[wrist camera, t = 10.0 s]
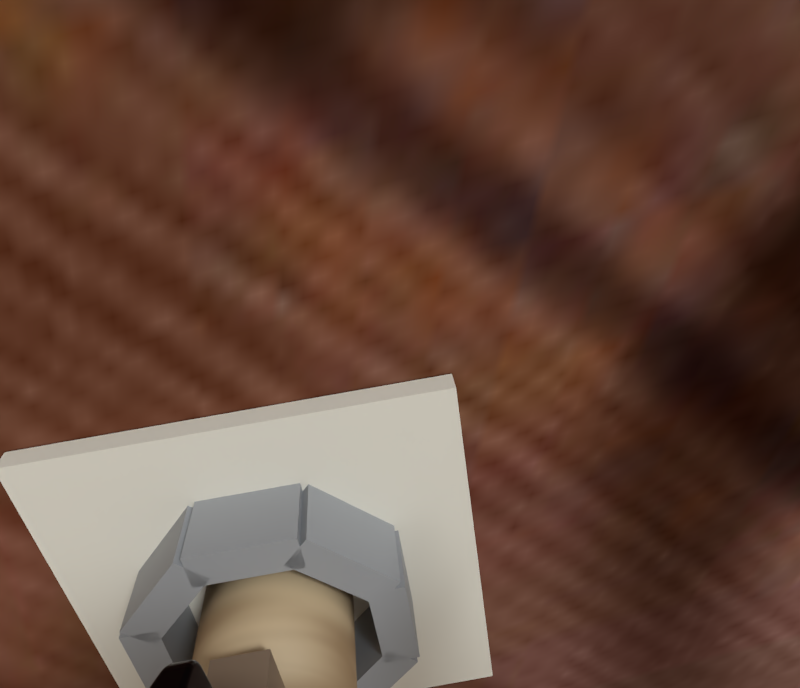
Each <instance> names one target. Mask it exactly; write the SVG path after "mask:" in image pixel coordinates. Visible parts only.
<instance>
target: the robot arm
mask: <svg viewBox="0 0 800 688" xmlns="http://www.w3.org/2000/svg"><path fill="white" fill-rule="evenodd" d="M150 688H213V687H212V685H211V683H210V682H209V680H208V678H207V676H206V674H205V672H204V670H203V668H202V667H201V665H200V664H199V662H197V661H196V660H187V661H182V662H176V663H171V664H169V665H167V666H166V667H164V668H163V669H162V671H161V672H160V673H159V675H158V676H157V677H156V679H155V680H154V682H153V683H152V685H151V686H150Z"/></svg>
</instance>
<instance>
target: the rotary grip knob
mask: <svg viewBox="0 0 800 688" xmlns="http://www.w3.org/2000/svg"><path fill="white" fill-rule="evenodd" d="M192 660H196V661H197V662H199V664H200V665H201V667H202V668H203V670H204V672H205V674H206V676H207V678H208V680H209V682H210V683H211V685H212V687H213V688H357V672H356V648H355V625H354V601H353V595H352V594H350V593H347V592H345V591H343V590H340V589H338V588H336V587H333V586H331V585H329V584H326V583H324V582H322V581H319V580H317V579H315V578H312V577H310V576H308V575H305V574H303V573H301V572H298V571H296V570H290V571H284V572H278V573H273V574H267V575H262V576H256V577H250V578H245V579H239V580H234V581H228V582H222V583H217V584H211V585H207V586H206V591H205V596H204V601H203V607H202V612H201V617H200V622H199V627H198V632H197V637H196V642H195V647H194V652H193V657H192Z"/></svg>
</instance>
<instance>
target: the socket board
mask: <svg viewBox="0 0 800 688" xmlns="http://www.w3.org/2000/svg"><path fill="white" fill-rule="evenodd" d="M0 481H1V483H2V485H3V487H4V488H5V490H6V492H7V493H8V495H9V497H10V499H11V500H12V502H13V504H14V506H15V507H16V509H17V511H18V513H19V514H20V516H21V518H22V520H23V521H24V523H25V525H26V526H27V528H28V530H29V532H30V533H31V535H32V537H33V539H34V540H35V542H36V544H37V546H38V547H39V549H40V551H41V552H42V554H43V556H44V558H45V559H46V561H47V563H48V565H49V566H50V568H51V570H52V572H53V573H54V575H55V577H56V579H57V580H58V582H59V584H60V585H61V587H62V589H63V591H64V592H65V594H66V596H67V598H68V599H69V601H70V603H71V605H72V606H73V608H74V610H75V612H76V613H77V615H78V617H79V618H80V620H81V622H82V624H83V625H84V627H85V629H86V631H87V632H88V634H89V636H90V638H91V639H92V641H93V643H94V644H95V646H96V648H97V650H98V651H99V653H100V655H101V657H102V658H103V660H104V662H105V664H106V665H107V667H108V669H109V671H110V672H111V674H112V676H113V677H114V679H115V681H116V683H117V684H118V686H119V688H150V686H151V685H152V683H153V682H154V680H155V679H156V677H157V676H158V675H159V673H160V672H161V671H162V669H163V668H164V667H166V666H167V665H169V664H171V663H176V662H182V661H187V660H192V657H193V652H194V647H195V642H196V637H197V632H198V627H199V622H200V617H201V612H202V607H203V601H204V596H205V591H206V586H207V585H211V584H217V583H222V582H228V581H234V580H239V579H245V578H250V577H256V576H262V575H267V574H273V573H278V572H284V571H290V570H296V571H298V572H301V573H303V574H305V575H308V576H310V577H312V578H315V579H317V580H319V581H322V582H324V583H326V584H329V585H331V586H333V587H336V588H338V589H340V590H343V591H345V592H347V593H350V594H352V595H353V601H354V625H355V648H356V672H357V688H428V687H434V686H439V685H445V684H451V683H456V682H462V681H467V680H473V679H478V678H484V677H489V676H493V675H492V667H491V659H490V651H489V643H488V636H487V628H486V620H485V612H484V604H483V596H482V588H481V581H480V573H479V565H478V557H477V549H476V541H475V533H474V526H473V518H472V510H471V502H470V494H469V486H468V478H467V471H466V463H465V455H464V447H463V439H462V431H461V423H460V416H459V408H458V400H457V392H456V386H455V383H454V380H453V376H452V374H447V375H442V376H436V377H430V378H425V379H419V380H413V381H408V382H402V383H396V384H391V385H385V386H379V387H374V388H368V389H362V390H357V391H351V392H345V393H340V394H334V395H328V396H322V397H317V398H311V399H305V400H300V401H294V402H288V403H283V404H277V405H271V406H266V407H260V408H254V409H249V410H243V411H237V412H232V413H226V414H220V415H215V416H209V417H203V418H197V419H192V420H186V421H180V422H175V423H169V424H163V425H158V426H152V427H146V428H141V429H135V430H129V431H124V432H118V433H112V434H107V435H101V436H95V437H90V438H84V439H78V440H73V441H67V442H61V443H55V444H50V445H44V446H38V447H33V448H27V449H21V450H16V451H10V452H5V453H4V454H3V456H2V457H1V459H0Z"/></svg>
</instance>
